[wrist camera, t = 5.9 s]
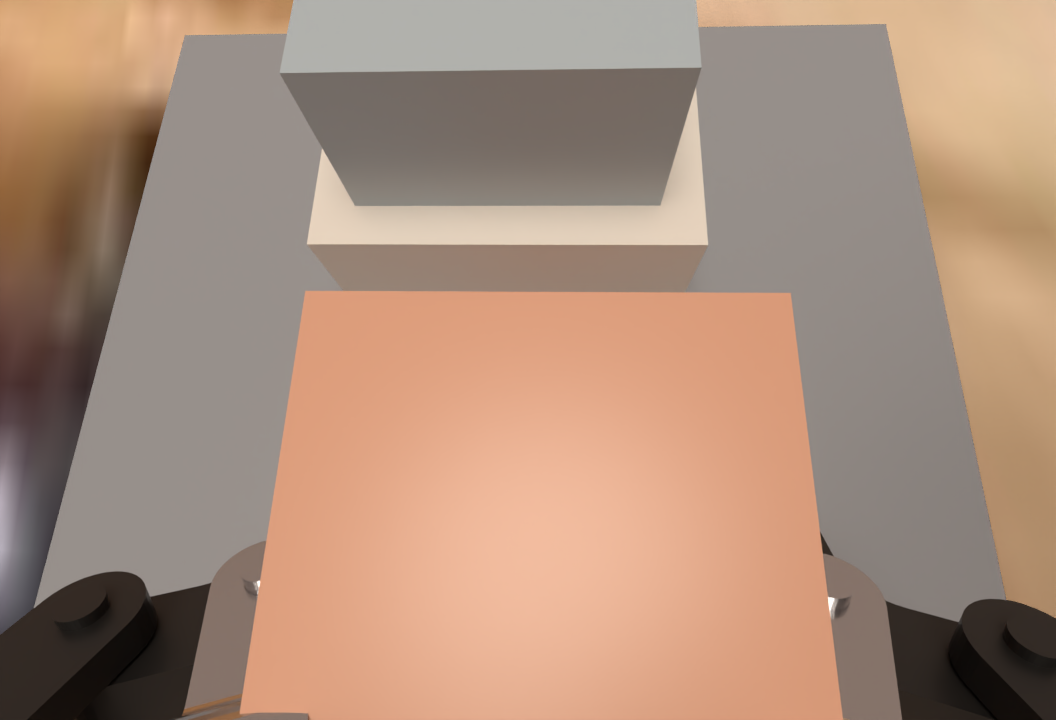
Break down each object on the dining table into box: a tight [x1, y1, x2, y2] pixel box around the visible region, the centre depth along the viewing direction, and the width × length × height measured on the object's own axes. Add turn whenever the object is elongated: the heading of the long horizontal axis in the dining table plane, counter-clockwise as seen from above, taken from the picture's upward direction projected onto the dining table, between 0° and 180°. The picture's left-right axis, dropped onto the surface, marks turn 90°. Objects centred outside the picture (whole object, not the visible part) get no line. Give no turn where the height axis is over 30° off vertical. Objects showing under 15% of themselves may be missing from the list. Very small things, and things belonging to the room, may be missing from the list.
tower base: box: [280, 0, 708, 292], centre depth 15 cm, size 9×9×8 cm
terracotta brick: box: [239, 291, 843, 720], centre depth 10 cm, size 5×5×10 cm
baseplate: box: [34, 24, 1006, 622], centre depth 17 cm, size 24×22×1 cm
